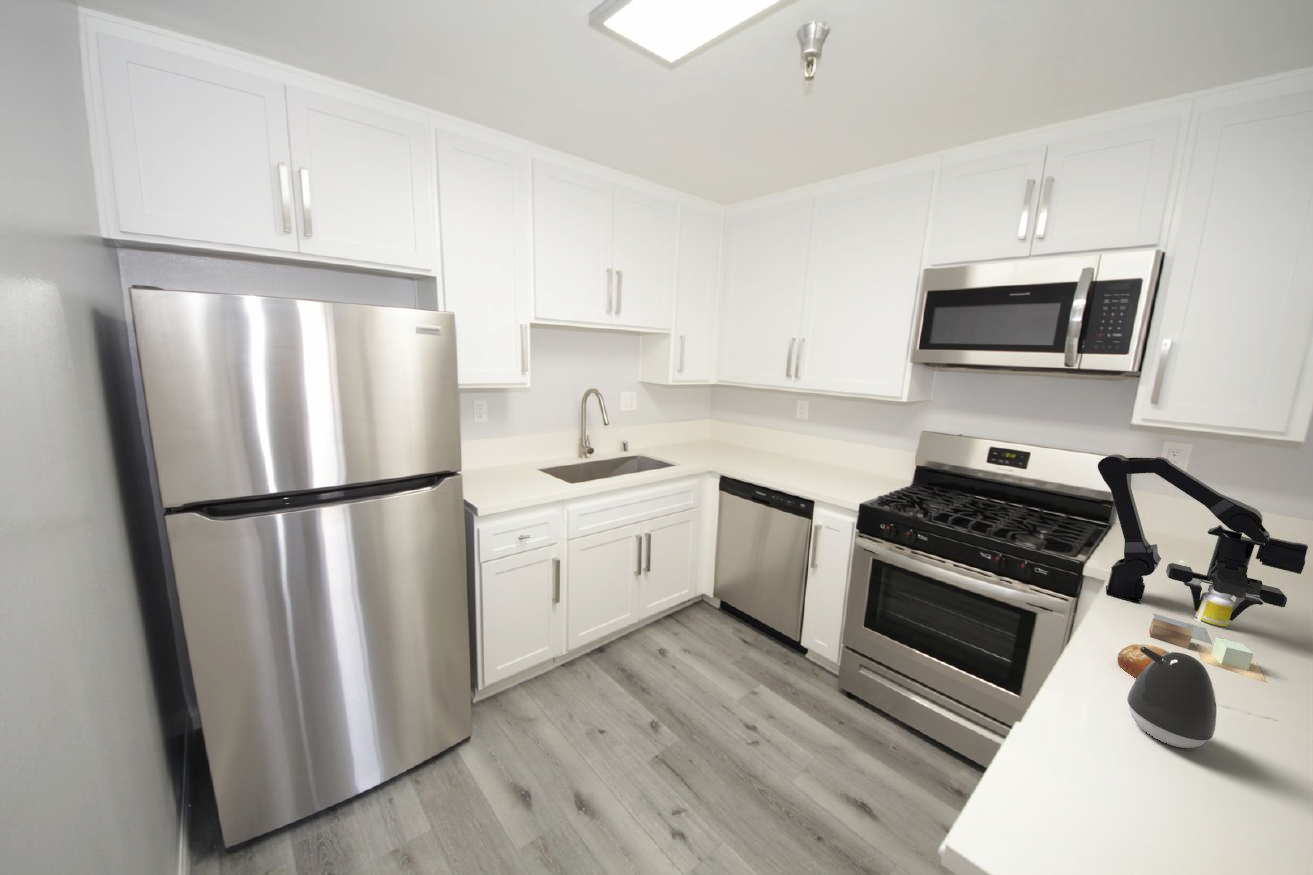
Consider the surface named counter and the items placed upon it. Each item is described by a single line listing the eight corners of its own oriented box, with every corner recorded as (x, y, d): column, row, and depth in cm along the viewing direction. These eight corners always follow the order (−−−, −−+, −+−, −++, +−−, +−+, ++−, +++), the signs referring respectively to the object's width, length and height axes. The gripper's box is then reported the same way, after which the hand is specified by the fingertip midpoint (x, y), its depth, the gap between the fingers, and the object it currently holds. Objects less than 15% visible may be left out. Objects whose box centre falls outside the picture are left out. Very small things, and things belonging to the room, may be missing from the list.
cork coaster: (1200, 663, 103) (1201, 661, 103) (1194, 645, 110) (1195, 643, 110) (1266, 685, 97) (1267, 682, 97) (1255, 664, 104) (1256, 662, 104)
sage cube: (1221, 663, 103) (1226, 647, 102) (1210, 653, 106) (1216, 637, 105) (1248, 670, 101) (1253, 653, 100) (1236, 659, 104) (1241, 643, 104)
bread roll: (1167, 688, 100) (1165, 648, 102) (1205, 700, 91) (1203, 655, 92) (1108, 675, 103) (1108, 636, 105) (1140, 685, 94) (1138, 642, 95)
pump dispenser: (1117, 702, 90) (1138, 629, 87) (1199, 732, 83) (1224, 655, 80) (1123, 734, 82) (1146, 655, 79) (1214, 770, 76) (1242, 686, 73)
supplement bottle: (1233, 632, 117) (1245, 595, 115) (1206, 628, 118) (1218, 592, 116) (1212, 620, 122) (1224, 584, 120) (1187, 616, 123) (1198, 581, 121)
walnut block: (1149, 639, 111) (1153, 624, 111) (1148, 633, 114) (1152, 618, 114) (1187, 652, 107) (1192, 636, 107) (1185, 644, 110) (1190, 629, 110)
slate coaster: (1155, 629, 116) (1156, 627, 116) (1152, 615, 123) (1153, 613, 122) (1211, 646, 110) (1212, 644, 110) (1204, 630, 117) (1205, 628, 117)
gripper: (1179, 553, 116) (1162, 611, 119) (1304, 581, 104) (1281, 646, 107) (1174, 541, 125) (1158, 596, 128) (1288, 566, 112) (1268, 626, 115)
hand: (1212, 615), depth 119 cm, fingers closed on supplement bottle, 5 cm apart
